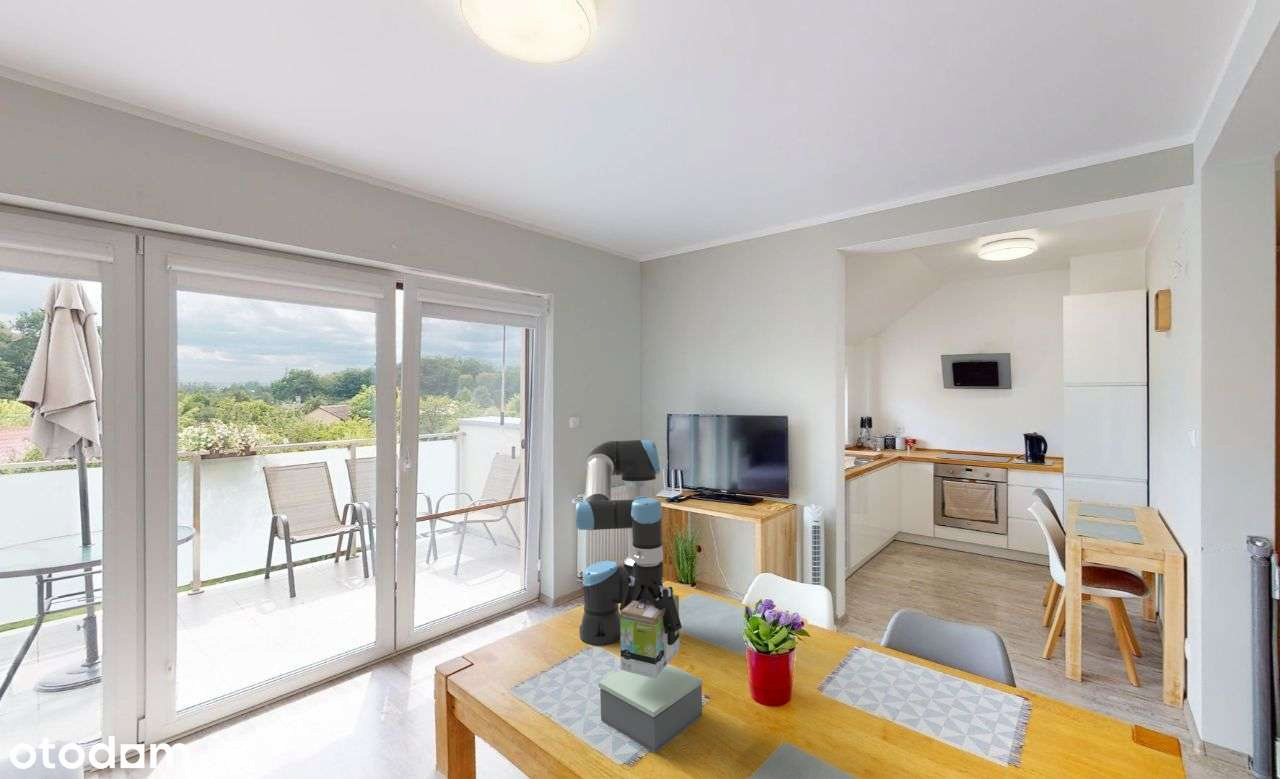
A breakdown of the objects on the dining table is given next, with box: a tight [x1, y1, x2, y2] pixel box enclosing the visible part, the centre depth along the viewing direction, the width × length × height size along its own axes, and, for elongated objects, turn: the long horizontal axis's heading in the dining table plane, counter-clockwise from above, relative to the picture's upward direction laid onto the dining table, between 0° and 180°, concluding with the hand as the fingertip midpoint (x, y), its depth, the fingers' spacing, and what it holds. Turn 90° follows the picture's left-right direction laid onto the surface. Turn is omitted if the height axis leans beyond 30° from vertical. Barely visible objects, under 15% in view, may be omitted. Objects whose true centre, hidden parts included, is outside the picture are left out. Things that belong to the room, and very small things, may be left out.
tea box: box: [620, 594, 680, 678], centre depth 132 cm, size 15×10×15 cm, turn 155°
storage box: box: [599, 683, 703, 754], centre depth 132 cm, size 18×18×8 cm
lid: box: [597, 663, 703, 717], centre depth 132 cm, size 18×18×1 cm
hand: (650, 648), depth 132 cm, fingers closed on tea box, 11 cm apart
